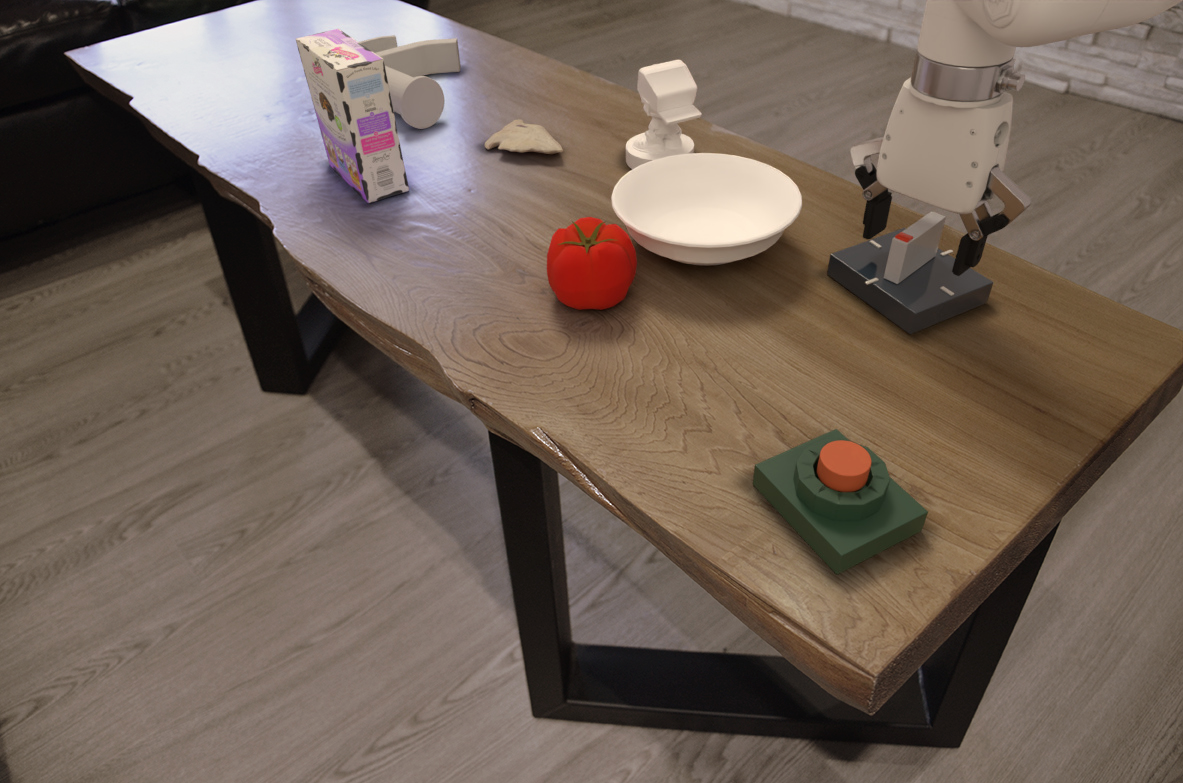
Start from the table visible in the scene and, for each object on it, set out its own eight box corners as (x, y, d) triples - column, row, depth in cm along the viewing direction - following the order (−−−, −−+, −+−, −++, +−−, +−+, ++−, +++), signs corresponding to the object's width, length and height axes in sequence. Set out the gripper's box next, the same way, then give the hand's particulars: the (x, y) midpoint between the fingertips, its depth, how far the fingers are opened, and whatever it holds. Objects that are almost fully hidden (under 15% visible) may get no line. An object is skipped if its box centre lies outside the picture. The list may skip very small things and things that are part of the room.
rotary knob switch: (991, 301, 83) (999, 278, 82) (905, 336, 80) (911, 314, 78) (904, 245, 91) (909, 224, 90) (821, 276, 88) (825, 253, 86)
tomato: (582, 263, 91) (579, 200, 86) (652, 288, 87) (652, 224, 82) (527, 305, 86) (521, 241, 81) (599, 335, 82) (596, 269, 77)
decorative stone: (522, 134, 118) (517, 113, 116) (585, 145, 111) (581, 123, 109) (479, 158, 114) (474, 136, 112) (542, 171, 107) (537, 149, 105)
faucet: (397, 84, 113) (308, 45, 127) (406, 134, 117) (319, 91, 132) (515, 50, 123) (421, 18, 138) (519, 97, 127) (427, 61, 142)
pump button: (877, 480, 61) (882, 464, 60) (839, 499, 60) (842, 482, 59) (844, 450, 64) (848, 433, 63) (806, 467, 63) (809, 451, 61)
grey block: (921, 250, 86) (932, 208, 83) (935, 256, 85) (947, 214, 82) (883, 278, 83) (892, 235, 79) (897, 284, 82) (908, 242, 78)
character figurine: (672, 139, 113) (675, 48, 105) (710, 167, 107) (716, 72, 99) (614, 154, 110) (612, 61, 102) (649, 184, 104) (650, 87, 96)
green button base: (922, 531, 62) (934, 494, 60) (836, 575, 60) (845, 539, 57) (832, 447, 69) (840, 411, 66) (752, 484, 66) (756, 448, 64)
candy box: (411, 191, 105) (385, 57, 94) (367, 206, 102) (334, 70, 92) (368, 152, 114) (340, 25, 103) (327, 164, 111) (293, 36, 100)
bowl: (816, 222, 96) (824, 169, 92) (763, 318, 83) (769, 262, 78) (654, 190, 103) (655, 140, 99) (581, 274, 90) (578, 221, 85)
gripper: (1083, 86, 68) (1022, 268, 79) (892, 40, 78) (862, 208, 89) (1039, 115, 64) (981, 302, 75) (845, 62, 74) (819, 234, 85)
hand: (916, 251), depth 82 cm, fingers open, 9 cm apart
